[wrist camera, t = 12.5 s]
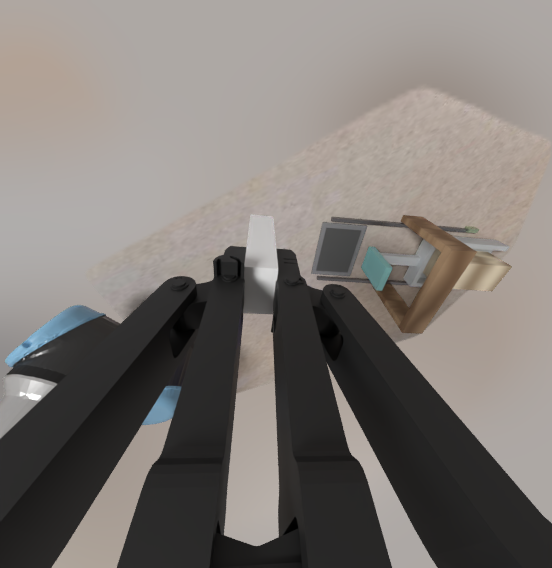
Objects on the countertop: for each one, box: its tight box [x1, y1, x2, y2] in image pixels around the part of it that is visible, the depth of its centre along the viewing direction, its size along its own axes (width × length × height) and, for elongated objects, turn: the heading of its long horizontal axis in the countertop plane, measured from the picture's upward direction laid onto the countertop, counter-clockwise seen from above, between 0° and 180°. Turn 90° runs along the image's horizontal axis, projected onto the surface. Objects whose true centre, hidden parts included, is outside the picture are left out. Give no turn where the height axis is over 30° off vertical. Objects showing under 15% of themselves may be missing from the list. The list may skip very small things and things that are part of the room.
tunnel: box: [373, 215, 477, 333], centre depth 45 cm, size 4×17×14 cm, turn 174°
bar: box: [423, 249, 511, 291], centre depth 48 cm, size 12×6×6 cm, turn 84°
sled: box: [361, 236, 509, 291], centre depth 47 cm, size 28×11×10 cm, turn 84°
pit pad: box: [311, 222, 367, 276], centre depth 49 cm, size 9×12×1 cm
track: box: [317, 217, 479, 285], centre depth 50 cm, size 30×15×1 cm, turn 84°
